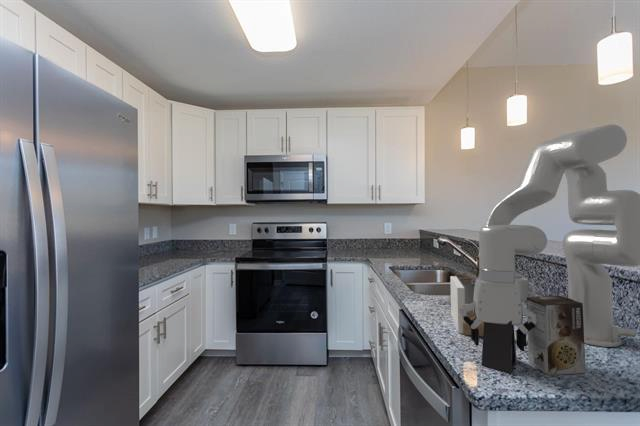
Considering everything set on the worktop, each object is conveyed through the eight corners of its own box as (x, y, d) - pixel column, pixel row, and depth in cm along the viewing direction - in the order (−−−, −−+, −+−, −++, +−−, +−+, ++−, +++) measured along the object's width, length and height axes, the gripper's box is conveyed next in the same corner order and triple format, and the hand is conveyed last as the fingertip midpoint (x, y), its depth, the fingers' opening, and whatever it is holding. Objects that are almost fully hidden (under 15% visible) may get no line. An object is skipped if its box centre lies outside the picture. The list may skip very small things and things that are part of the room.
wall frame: (457, 314, 108) (456, 276, 108) (465, 333, 90) (464, 288, 91) (451, 314, 108) (450, 276, 108) (458, 333, 91) (457, 287, 91)
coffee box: (562, 360, 73) (560, 295, 74) (586, 374, 67) (584, 302, 67) (526, 361, 73) (525, 296, 73) (548, 375, 66) (546, 303, 67)
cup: (510, 295, 132) (509, 275, 132) (537, 299, 125) (537, 278, 125) (506, 299, 126) (506, 278, 126) (535, 303, 119) (534, 281, 120)
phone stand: (510, 374, 67) (509, 321, 67) (481, 365, 71) (480, 316, 71) (517, 359, 74) (515, 311, 74) (489, 352, 78) (489, 307, 78)
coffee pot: (444, 311, 112) (443, 271, 112) (452, 303, 121) (451, 267, 121) (511, 323, 99) (510, 278, 99) (514, 313, 108) (513, 272, 108)
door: (462, 333, 90) (462, 303, 90) (511, 337, 86) (510, 307, 86) (463, 335, 88) (463, 305, 88) (513, 340, 84) (513, 309, 84)
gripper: (531, 275, 74) (532, 344, 74) (456, 271, 79) (457, 335, 79) (544, 281, 67) (545, 357, 66) (460, 277, 72) (461, 347, 72)
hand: (497, 345), depth 73 cm, fingers open, 9 cm apart
